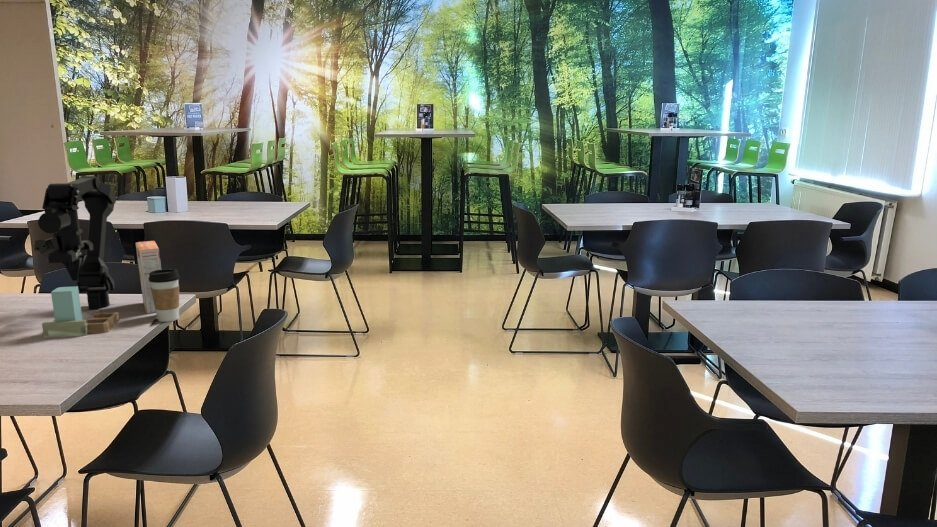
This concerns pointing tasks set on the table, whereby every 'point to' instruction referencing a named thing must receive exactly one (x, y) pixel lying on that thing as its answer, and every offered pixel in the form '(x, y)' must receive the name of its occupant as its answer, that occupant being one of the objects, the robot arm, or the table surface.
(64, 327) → the trap channel
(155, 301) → the coffee cup
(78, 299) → the block
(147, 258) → the cracker box
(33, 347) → the table surface
